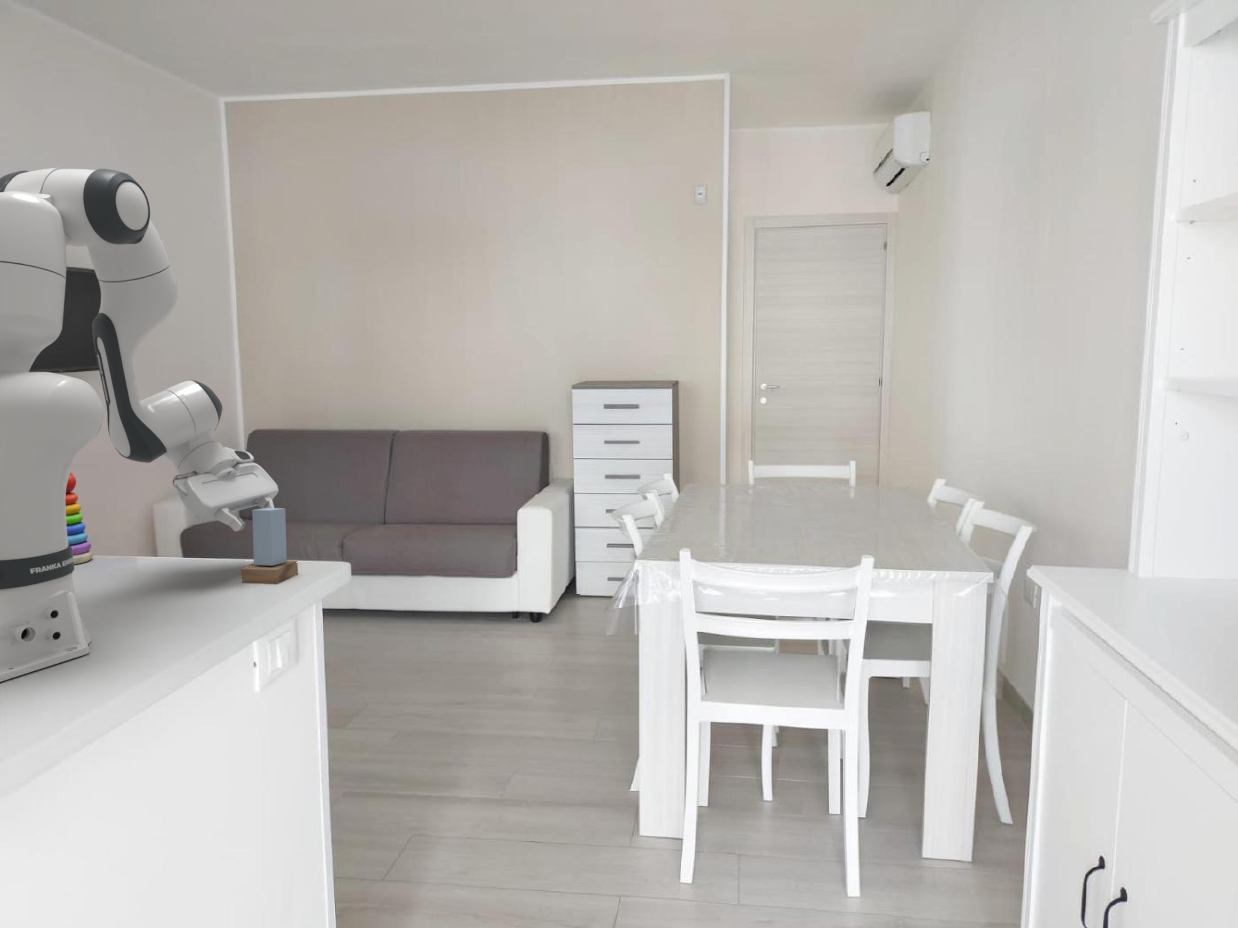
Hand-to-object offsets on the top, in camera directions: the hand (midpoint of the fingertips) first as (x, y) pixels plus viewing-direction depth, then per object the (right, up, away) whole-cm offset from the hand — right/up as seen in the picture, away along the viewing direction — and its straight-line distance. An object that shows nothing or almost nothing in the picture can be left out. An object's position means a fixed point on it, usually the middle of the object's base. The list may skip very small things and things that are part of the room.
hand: (258, 523), depth 162 cm
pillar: (+2, -7, +1) cm, 8 cm away
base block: (+2, -11, +1) cm, 11 cm away
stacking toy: (-44, -9, +15) cm, 47 cm away
